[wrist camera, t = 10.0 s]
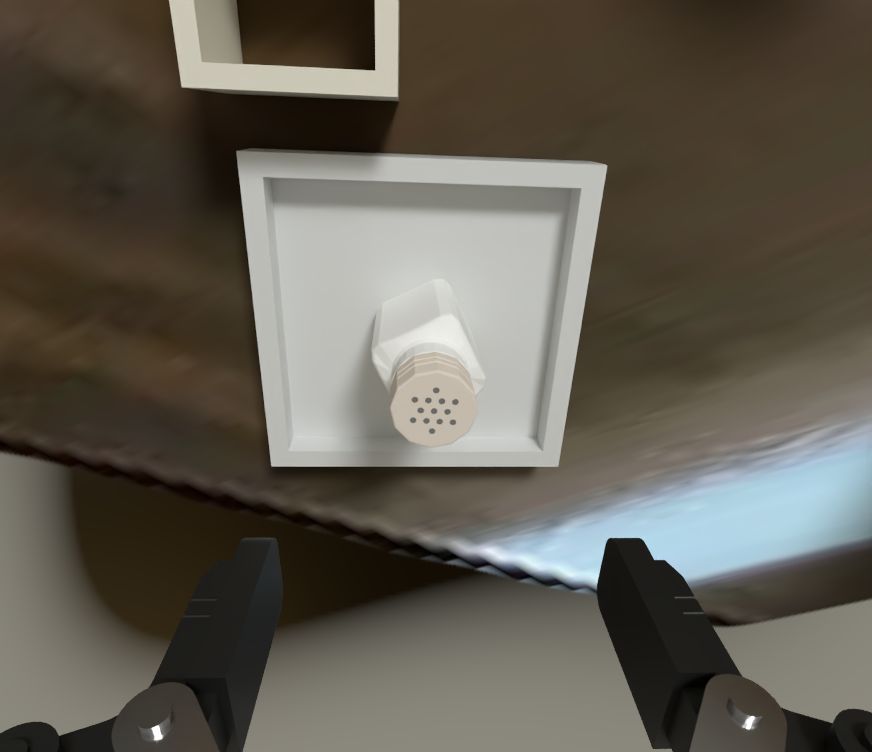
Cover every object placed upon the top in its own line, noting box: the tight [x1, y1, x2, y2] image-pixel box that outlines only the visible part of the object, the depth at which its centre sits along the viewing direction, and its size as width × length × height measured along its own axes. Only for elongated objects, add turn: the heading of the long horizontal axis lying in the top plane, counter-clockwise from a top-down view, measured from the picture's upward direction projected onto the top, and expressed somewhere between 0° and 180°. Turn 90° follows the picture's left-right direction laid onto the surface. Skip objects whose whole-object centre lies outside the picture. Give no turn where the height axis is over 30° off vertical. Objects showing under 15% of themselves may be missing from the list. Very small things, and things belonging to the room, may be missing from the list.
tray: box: [236, 148, 607, 467], centre depth 28 cm, size 16×16×2 cm
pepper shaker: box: [371, 279, 486, 448], centre depth 24 cm, size 4×4×10 cm
